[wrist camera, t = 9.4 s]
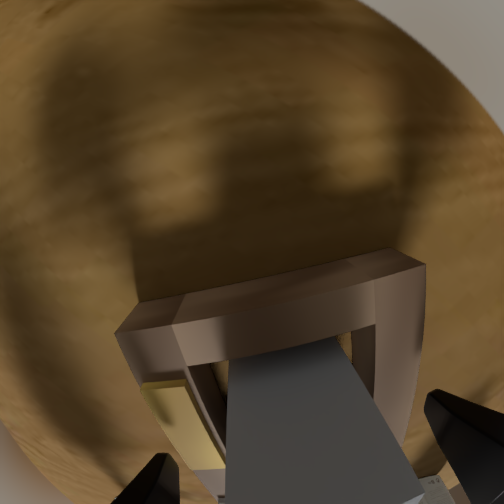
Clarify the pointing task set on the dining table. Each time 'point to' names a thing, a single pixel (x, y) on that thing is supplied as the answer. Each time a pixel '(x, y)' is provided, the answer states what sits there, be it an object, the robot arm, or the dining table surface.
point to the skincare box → (435, 491)
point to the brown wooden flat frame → (276, 343)
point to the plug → (310, 433)
